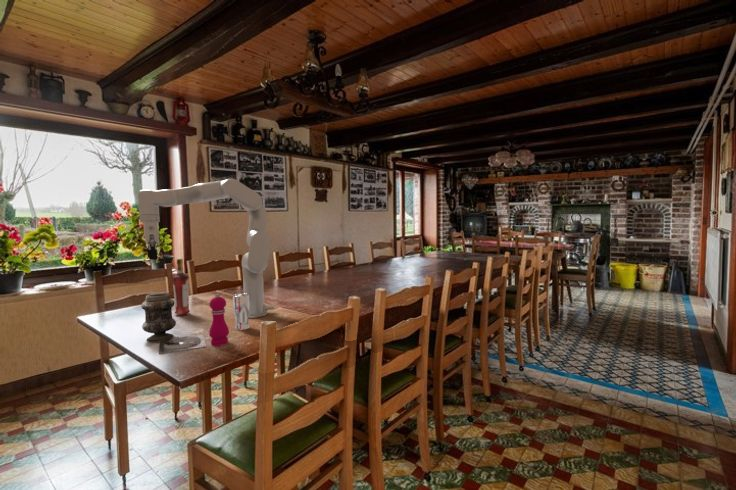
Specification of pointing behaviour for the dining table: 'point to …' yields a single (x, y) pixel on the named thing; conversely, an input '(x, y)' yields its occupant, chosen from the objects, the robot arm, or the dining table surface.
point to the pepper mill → (218, 322)
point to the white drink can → (241, 310)
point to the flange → (182, 344)
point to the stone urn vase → (158, 316)
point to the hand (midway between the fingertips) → (152, 258)
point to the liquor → (181, 290)
